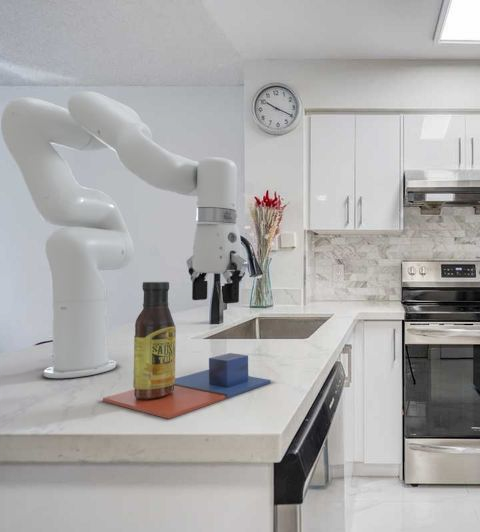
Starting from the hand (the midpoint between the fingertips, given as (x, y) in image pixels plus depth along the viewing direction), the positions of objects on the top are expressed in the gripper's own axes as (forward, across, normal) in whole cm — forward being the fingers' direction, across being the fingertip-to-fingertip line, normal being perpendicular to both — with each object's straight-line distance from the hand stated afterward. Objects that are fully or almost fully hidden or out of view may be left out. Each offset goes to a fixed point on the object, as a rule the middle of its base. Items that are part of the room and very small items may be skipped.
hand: (215, 301), depth 86 cm
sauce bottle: (+15, -3, +14) cm, 21 cm away
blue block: (+15, -8, +3) cm, 17 cm away
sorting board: (+16, -5, +9) cm, 19 cm away
